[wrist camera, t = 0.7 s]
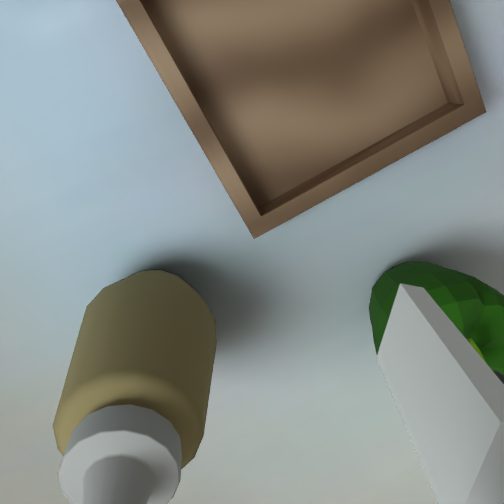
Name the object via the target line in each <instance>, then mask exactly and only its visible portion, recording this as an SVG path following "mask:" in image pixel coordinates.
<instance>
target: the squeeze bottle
mask: <svg viewBox="0 0 504 504" xmlns="http://www.w3.org/2000/svg"><path fill="white" fill-rule="evenodd" d="M215 350H216V327H215V319H214V317H213V315H212V314H211V312H210V310H209V308H208V306H207V305H206V303H205V301H204V299H203V298H202V297H201V296H200V295H199V294H198V293H197V292H196V291H195V290H194V289H193V288H192V287H191V286H190V285H189V284H188V283H186V282H185V281H184V280H183V279H181V278H180V277H179V276H178V275H175V274H172V273H169V272H166V271H162V270H146V271H140V272H138V273H136V274H133V275H131V276H129V277H127V278H124V279H122V280H120V281H118V282H116V283H113V284H111V285H109V286H107V287H105V288H103V289H102V290H101V292H100V293H99V294H98V295H97V296H96V297H95V298H94V299H93V300H92V301H91V303H90V304H89V305H88V306H87V307H86V311H85V314H84V317H83V321H82V324H81V328H80V331H79V334H78V338H77V342H76V345H75V349H74V352H73V356H72V359H71V363H70V366H69V370H68V373H67V377H66V380H65V384H64V388H63V391H62V395H61V398H60V402H59V405H58V409H57V412H56V416H55V419H54V423H53V429H54V434H55V439H56V443H57V448H58V450H59V451H60V452H61V454H62V455H63V458H62V462H61V465H60V468H59V471H58V478H59V482H60V487H61V491H62V493H63V494H64V495H65V496H66V498H67V499H68V500H69V501H70V502H71V504H166V503H167V502H169V501H170V500H171V499H172V498H173V497H174V494H175V492H176V489H177V487H178V485H179V482H180V477H181V469H182V468H183V467H185V466H186V465H187V464H188V463H189V462H190V461H191V460H192V459H193V458H194V457H195V455H196V452H197V450H198V448H199V445H200V443H201V440H202V438H203V435H204V428H205V421H206V414H207V407H208V400H209V393H210V386H211V378H212V371H213V364H214V357H215Z"/></svg>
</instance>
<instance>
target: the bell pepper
mask: <svg viewBox="0 0 504 504" xmlns="http://www.w3.org/2000/svg"><path fill="white" fill-rule="evenodd" d="M400 283H401V284H407V285H412V286H417V287H422V288H424V289H425V290H426V291H427V293H428V294H429V295H430V296H431V297H432V299H433V300H434V301H435V302H436V303H437V305H438V306H439V307H440V308H441V309H442V311H443V312H444V313H445V314H446V315H447V317H448V318H449V319H450V320H451V321H452V323H453V324H454V325H455V326H456V327H457V329H458V330H459V331H460V332H461V334H462V335H463V336H464V337H465V338H466V340H467V341H468V342H469V343H470V344H471V346H472V347H473V348H474V349H475V350H476V352H477V353H478V354H479V355H480V356H481V358H482V359H483V360H484V361H485V362H486V364H487V365H488V366H489V367H490V368H491V370H494V371H498V372H499V373H501V374H502V375H503V376H504V295H502V294H501V293H499V292H498V291H497V290H495V289H493V288H492V287H490V286H488V285H487V284H485V283H483V282H481V281H480V280H478V279H476V278H475V277H472V276H469V275H466V274H463V273H460V272H458V271H454V270H450V269H447V268H444V267H441V266H438V265H434V264H430V263H423V262H405V263H403V264H401V265H399V266H397V267H394V268H392V269H390V270H388V271H385V273H384V274H383V275H382V276H381V277H380V279H379V280H378V281H377V282H376V284H375V285H374V286H373V288H372V293H371V299H370V305H369V312H370V320H371V324H372V330H373V338H374V344H375V348H376V353H377V354H378V351H379V348H380V345H381V342H382V338H383V335H384V332H385V329H386V326H387V323H388V320H389V316H390V313H391V310H392V307H393V304H394V301H395V298H396V295H397V291H398V288H399V285H400Z"/></svg>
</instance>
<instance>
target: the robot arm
mask: <svg viewBox="0 0 504 504" xmlns="http://www.w3.org/2000/svg"><path fill="white" fill-rule="evenodd" d="M376 358H377V361H378V363H379V366H380V368H381V370H382V373H383V375H384V377H385V380H386V382H387V384H388V387H389V389H390V391H391V394H392V396H393V398H394V401H395V403H396V405H397V408H398V410H399V412H400V415H401V417H402V419H403V422H404V424H405V426H406V429H407V431H408V433H409V436H410V438H411V440H412V443H413V445H414V447H415V450H416V452H417V454H418V457H419V459H420V461H421V464H422V466H423V469H424V471H425V473H426V476H427V478H428V480H429V483H430V485H431V487H432V490H433V492H434V494H435V497H436V499H437V501H438V504H504V376H503V375H502V374H501V373H499V372H498V371H494V370H491V368H490V367H489V366H488V365H487V364H486V362H485V361H484V360H483V359H482V358H481V356H480V355H479V354H478V353H477V352H476V350H475V349H474V348H473V347H472V346H471V344H470V343H469V342H468V341H467V340H466V338H465V337H464V336H463V335H462V334H461V332H460V331H459V330H458V329H457V327H456V326H455V325H454V324H453V323H452V321H451V320H450V319H449V318H448V317H447V315H446V314H445V313H444V312H443V311H442V309H441V308H440V307H439V306H438V305H437V303H436V302H435V301H434V300H433V299H432V297H431V296H430V295H429V294H428V293H427V291H426V290H425V289H424V288H422V287H417V286H412V285H407V284H401V283H400V285H399V288H398V291H397V295H396V298H395V301H394V304H393V307H392V310H391V313H390V316H389V320H388V323H387V326H386V329H385V332H384V335H383V338H382V342H381V345H380V348H379V351H378V354H377V357H376Z"/></svg>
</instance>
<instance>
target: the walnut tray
mask: <svg viewBox="0 0 504 504" xmlns="http://www.w3.org/2000/svg"><path fill="white" fill-rule="evenodd" d="M116 1H117V3H118V4H119V6H120V8H121V10H122V11H123V13H124V15H125V17H126V18H127V20H128V22H129V23H130V25H131V27H132V29H133V30H134V32H135V34H136V36H137V37H138V39H139V41H140V42H141V44H142V46H143V48H144V49H145V51H146V53H147V55H148V56H149V58H150V60H151V61H152V63H153V65H154V67H155V68H156V70H157V72H158V74H159V75H160V77H161V79H162V81H163V82H164V84H165V86H166V87H167V89H168V91H169V93H170V94H171V96H172V98H173V100H174V101H175V103H176V105H177V106H178V108H179V110H180V112H181V113H182V115H183V117H184V119H185V120H186V122H187V124H188V125H189V127H190V129H191V131H192V132H193V134H194V136H195V138H196V139H197V141H198V143H199V144H200V146H201V148H202V150H203V151H204V153H205V155H206V157H207V158H208V160H209V162H210V164H211V165H212V167H213V169H214V170H215V172H216V174H217V176H218V177H219V179H220V181H221V183H222V184H223V186H224V188H225V189H226V191H227V193H228V195H229V196H230V198H231V200H232V202H233V203H234V205H235V207H236V208H237V210H238V212H239V214H240V215H241V217H242V219H243V221H244V222H245V224H246V226H247V227H248V229H249V231H250V233H251V234H252V236H253V238H254V239H255V238H257V237H259V236H260V235H262V234H264V233H266V232H268V231H270V230H271V229H273V228H275V227H277V226H279V225H280V224H282V223H284V222H286V221H288V220H290V219H291V218H293V217H295V216H297V215H299V214H301V213H302V212H304V211H306V210H308V209H310V208H312V207H313V206H315V205H317V204H319V203H321V202H323V201H324V200H326V199H328V198H330V197H332V196H333V195H335V194H337V193H339V192H341V191H343V190H344V189H346V188H348V187H350V186H352V185H354V184H355V183H357V182H359V181H361V180H363V179H365V178H366V177H368V176H370V175H372V174H374V173H375V172H377V171H379V170H381V169H383V168H385V167H386V166H388V165H390V164H392V163H394V162H396V161H397V160H399V159H401V158H403V157H405V156H407V155H408V154H410V153H412V152H414V151H416V150H418V149H419V148H421V147H423V146H425V145H427V144H428V143H430V142H432V141H434V140H436V139H438V138H439V137H441V136H443V135H445V134H447V133H449V132H450V131H452V130H454V129H456V128H458V127H460V126H461V125H463V124H465V123H467V122H469V121H471V120H472V119H474V118H476V117H478V116H480V115H481V114H483V113H485V112H486V110H485V107H484V104H483V101H482V98H481V95H480V91H479V88H478V85H477V82H476V79H475V76H474V73H473V70H472V67H471V64H470V61H469V58H468V55H467V52H466V49H465V46H464V43H463V40H462V37H461V34H460V31H459V27H458V24H457V21H456V18H455V15H454V12H453V9H452V6H451V3H450V0H116Z"/></svg>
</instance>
